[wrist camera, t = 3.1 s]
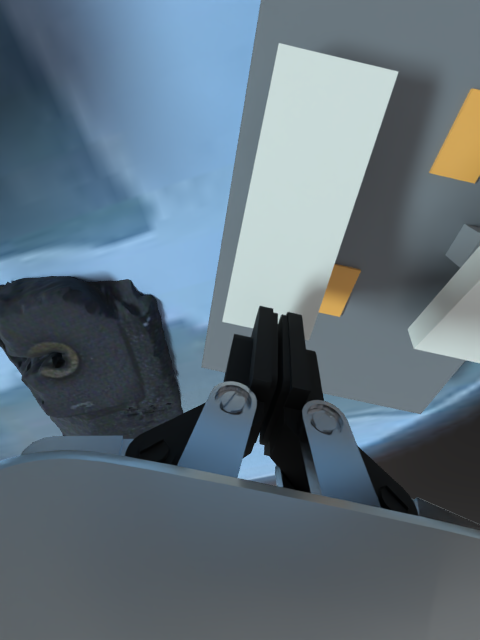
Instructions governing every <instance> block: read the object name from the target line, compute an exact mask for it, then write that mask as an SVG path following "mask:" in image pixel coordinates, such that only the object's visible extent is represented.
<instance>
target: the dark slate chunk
mask: <svg viewBox="0 0 480 640" xmlns="http://www.w3.org/2000/svg"><path fill="white" fill-rule="evenodd" d="M0 347H2V349H3V350H4V352H5V353H6V355H7V356H8V358H9V359H10V361H11V362H12V363H13V364H14V365H15V366H16V367H17V369H18V370H19V372H20V373H21V374H22V381H23V382H24V383H25V384H26V386H27V387H28V388H29V389H30V390H31V392H32V394H33V396H34V397H35V398H36V400H37V402H38V403H39V405H40V406H41V408H42V409H43V410H44V411H45V413H46V414H47V415H49V416H50V418H51V420H52V421H53V422H54V423H55V424H56V425H57V426H58V427H59V428H60V430H61V432H62V434H63V436H123V439H134V438H136V437H137V436H139V435H140V434H142V433H144V432H146V431H148V430H150V429H152V428H154V427H156V426H158V425H160V424H163V423H165V422H167V421H169V420H171V419H173V418H175V417H177V416H179V415H181V414H183V410H182V408H181V400H180V395H179V391H178V385H177V382H176V379H175V377H174V370H173V368H172V361H171V359H170V355H169V352H168V347H167V343H166V340H165V336H164V331H163V328H162V322H161V316H160V313H159V311H158V307H157V301H156V299H155V298H153V297H151V296H149V295H144V296H141V295H140V294H139V292H138V291H136V289H135V288H134V286H133V284H132V282H131V280H128V279H126V280H120V281H98V282H86V281H82V280H78V279H76V278H73V277H69V276H59V277H57V276H50V277H40V278H23V279H19V280H16V281H14V282H12V283H9V282H7V284H6V285H5V286H0Z"/></svg>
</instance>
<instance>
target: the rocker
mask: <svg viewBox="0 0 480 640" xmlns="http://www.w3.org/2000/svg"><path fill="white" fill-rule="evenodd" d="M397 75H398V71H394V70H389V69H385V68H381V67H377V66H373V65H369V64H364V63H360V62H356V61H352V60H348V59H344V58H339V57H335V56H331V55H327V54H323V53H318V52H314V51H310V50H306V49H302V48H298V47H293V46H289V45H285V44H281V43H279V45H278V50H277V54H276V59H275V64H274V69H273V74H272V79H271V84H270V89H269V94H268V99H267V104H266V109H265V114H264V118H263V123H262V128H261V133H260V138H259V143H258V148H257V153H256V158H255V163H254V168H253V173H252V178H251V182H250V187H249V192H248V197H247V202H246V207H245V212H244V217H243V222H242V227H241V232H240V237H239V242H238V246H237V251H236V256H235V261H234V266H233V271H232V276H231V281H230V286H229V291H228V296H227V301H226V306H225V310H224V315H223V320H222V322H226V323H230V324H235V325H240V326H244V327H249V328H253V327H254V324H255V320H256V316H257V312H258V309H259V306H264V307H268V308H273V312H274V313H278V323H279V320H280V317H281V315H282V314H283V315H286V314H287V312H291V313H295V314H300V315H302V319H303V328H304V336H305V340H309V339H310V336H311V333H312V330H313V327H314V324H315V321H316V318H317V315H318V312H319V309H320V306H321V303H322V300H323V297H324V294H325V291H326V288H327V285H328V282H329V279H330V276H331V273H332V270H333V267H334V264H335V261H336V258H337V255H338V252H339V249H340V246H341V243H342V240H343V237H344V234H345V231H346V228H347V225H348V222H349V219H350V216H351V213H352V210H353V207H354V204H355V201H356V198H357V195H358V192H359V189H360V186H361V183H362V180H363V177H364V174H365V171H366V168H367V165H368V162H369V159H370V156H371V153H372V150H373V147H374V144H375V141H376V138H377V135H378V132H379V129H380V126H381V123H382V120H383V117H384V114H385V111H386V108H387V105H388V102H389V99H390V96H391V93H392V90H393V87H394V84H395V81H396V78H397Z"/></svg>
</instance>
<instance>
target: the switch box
mask: <svg viewBox="0 0 480 640" xmlns="http://www.w3.org/2000/svg"><path fill="white" fill-rule="evenodd" d="M279 43H281V44H285V45H289V46H293V47H298V48H302V49H306V50H310V51H314V52H318V53H323V54H327V55H331V56H335V57H339V58H344V59H348V60H352V61H356V62H360V63H364V64H369V65H373V66H377V67H381V68H385V69H389V70H394V71H398V75H397V78H396V81H395V84H394V87H393V90H392V93H391V96H390V99H389V102H388V105H387V108H386V111H385V114H384V117H383V120H382V123H381V126H380V129H379V132H378V135H377V138H376V141H375V144H374V147H373V150H372V153H371V156H370V159H369V162H368V165H367V168H366V171H365V174H364V177H363V180H362V183H361V186H360V189H359V192H358V195H357V198H356V201H355V204H354V207H353V210H352V213H351V216H350V219H349V222H348V225H347V228H346V231H345V234H344V237H343V240H342V243H341V246H340V249H339V252H338V255H337V258H336V261H335V264H334V267H333V270H332V273H331V276H330V279H329V282H328V285H327V288H326V291H325V294H324V297H323V300H322V303H321V306H320V309H319V312H318V315H317V318H316V321H315V324H314V327H313V330H312V333H311V336H310V339H309V340H305V345H306V349H307V350H312V351H315V352H316V355H317V361H318V367H319V373H320V379H321V386H322V392H323V393H324V394H329V395H333V396H338V397H343V398H348V399H352V400H357V401H362V402H366V403H371V404H376V405H380V406H385V407H390V408H395V409H399V410H404V411H409V412H413V413H418V414H421V413H422V412H423V411H424V409H425V408H426V407H427V406H428V405H429V403H430V402H431V401H432V400H433V399H434V397H435V396H436V395H437V394H438V393H439V391H440V390H441V389H442V388H443V387H444V386H445V384H446V383H447V382H448V381H449V380H450V378H451V377H452V376H453V375H454V374H455V372H456V371H457V370H458V369H459V368H460V366H461V365H462V364H463V363H464V362H465V360H463V359H458V358H454V357H449V356H445V355H440V354H435V353H431V352H426V351H422V350H417V349H414V348H413V345H412V342H411V338H410V335H409V332H408V328H409V327H410V326H411V324H412V323H413V322H414V321H415V320H416V319H417V318H418V316H419V315H420V314H421V313H422V312H423V311H424V309H425V308H426V307H427V306H428V305H429V304H430V303H431V301H432V300H433V299H434V298H435V297H436V296H437V294H438V293H439V292H440V291H441V290H442V289H443V288H444V286H445V285H446V284H447V283H448V282H449V281H450V279H451V278H452V277H453V276H454V275H455V274H456V273H457V271H458V270H459V269H460V268H461V267H462V266H463V264H464V263H465V262H466V261H467V260H468V259H469V258H470V256H471V255H472V254H473V253H474V252H475V251H476V249H477V248H478V247H479V246H480V0H261V4H260V10H259V16H258V22H257V28H256V35H255V41H254V47H253V53H252V59H251V65H250V71H249V78H248V84H247V90H246V96H245V102H244V108H243V114H242V121H241V127H240V133H239V139H238V145H237V151H236V158H235V164H234V170H233V176H232V182H231V188H230V194H229V201H228V207H227V213H226V219H225V225H224V231H223V237H222V244H221V250H220V256H219V262H218V268H217V274H216V280H215V287H214V293H213V299H212V305H211V311H210V317H209V324H208V330H207V336H206V342H205V348H204V354H203V360H202V368H207V369H211V370H216V371H221V372H226V368H227V363H228V358H229V354H230V349H231V345H232V340H233V336H234V334H238V335H243V336H248V337H251V335H252V331H253V328H249V327H244V326H240V325H235V324H230V323H226V322H222V320H223V315H224V310H225V306H226V301H227V296H228V291H229V286H230V281H231V276H232V271H233V266H234V261H235V256H236V251H237V246H238V242H239V237H240V232H241V227H242V222H243V217H244V212H245V207H246V202H247V197H248V192H249V187H250V182H251V178H252V173H253V168H254V163H255V158H256V153H257V148H258V143H259V138H260V133H261V128H262V123H263V118H264V114H265V109H266V104H267V99H268V94H269V89H270V84H271V79H272V74H273V69H274V64H275V59H276V54H277V50H278V45H279Z"/></svg>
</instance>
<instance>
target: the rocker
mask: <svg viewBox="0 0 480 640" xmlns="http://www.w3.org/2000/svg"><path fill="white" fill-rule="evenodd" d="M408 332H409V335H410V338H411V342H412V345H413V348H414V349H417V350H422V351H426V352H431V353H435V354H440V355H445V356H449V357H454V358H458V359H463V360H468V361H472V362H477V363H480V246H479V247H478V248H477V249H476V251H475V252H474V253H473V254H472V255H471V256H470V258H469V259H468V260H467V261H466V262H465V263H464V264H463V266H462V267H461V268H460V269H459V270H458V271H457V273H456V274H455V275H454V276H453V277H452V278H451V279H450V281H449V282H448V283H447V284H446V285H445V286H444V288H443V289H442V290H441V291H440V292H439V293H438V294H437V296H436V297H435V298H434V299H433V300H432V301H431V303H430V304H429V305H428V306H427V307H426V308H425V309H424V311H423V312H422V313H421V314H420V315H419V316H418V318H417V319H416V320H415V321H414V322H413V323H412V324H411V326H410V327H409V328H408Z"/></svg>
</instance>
